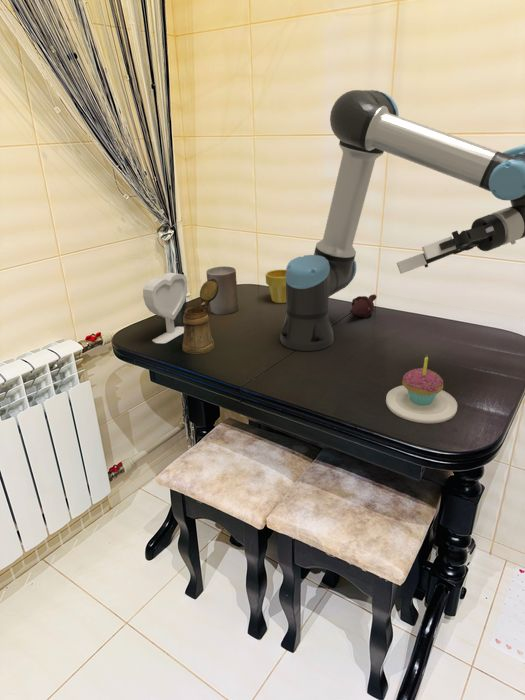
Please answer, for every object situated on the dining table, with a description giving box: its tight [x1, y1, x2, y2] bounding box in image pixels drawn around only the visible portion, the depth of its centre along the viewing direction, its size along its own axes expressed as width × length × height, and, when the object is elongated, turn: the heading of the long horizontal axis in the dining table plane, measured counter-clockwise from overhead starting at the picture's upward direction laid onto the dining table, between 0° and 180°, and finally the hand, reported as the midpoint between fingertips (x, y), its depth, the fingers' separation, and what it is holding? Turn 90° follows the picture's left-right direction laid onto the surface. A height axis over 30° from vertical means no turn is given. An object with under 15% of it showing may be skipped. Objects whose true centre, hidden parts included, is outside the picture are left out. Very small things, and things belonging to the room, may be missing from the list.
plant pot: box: [265, 268, 286, 304], centre depth 175 cm, size 10×10×10 cm
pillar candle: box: [205, 266, 239, 316], centre depth 167 cm, size 10×10×15 cm
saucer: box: [385, 384, 458, 425], centre depth 112 cm, size 15×15×1 cm
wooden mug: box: [181, 278, 219, 355], centre depth 140 cm, size 9×14×18 cm, turn 146°
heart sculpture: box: [142, 272, 188, 344], centre depth 148 cm, size 16×5×18 cm, turn 150°
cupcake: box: [401, 354, 444, 406], centre depth 109 cm, size 9×8×12 cm
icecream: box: [349, 294, 377, 319], centre depth 160 cm, size 7×7×15 cm
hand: (411, 261), depth 110 cm, fingers open, 13 cm apart
